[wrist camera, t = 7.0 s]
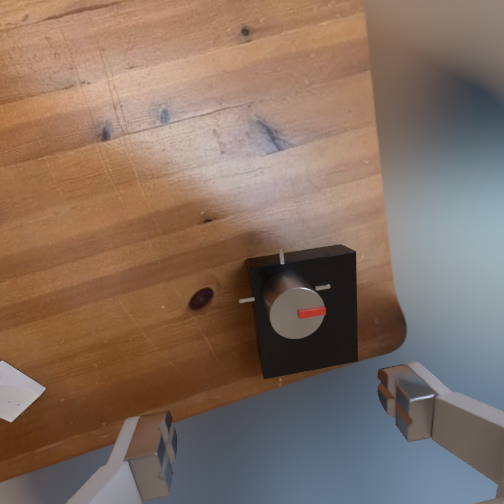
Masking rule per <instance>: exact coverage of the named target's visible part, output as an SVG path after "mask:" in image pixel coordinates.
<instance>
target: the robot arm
mask: <svg viewBox="0 0 504 504" xmlns="http://www.w3.org/2000/svg"><path fill="white" fill-rule="evenodd" d="M378 378H379V380H380V381H381V383H380V384H379V386H378V396H379V399H380V402H381V404H382V406H383V408H384V409H385V411H386V412H387V414H389V415H391V416H392V417H394V418H396V426H397V427H398V429H399V430H400V432H401V433H402V434H403V436H404V437H405V438H406V440H407V441H408V442H412V441H416V440H422V439H428V438H432V440H434V441H435V442H436V443H438V444H439V445H441V446H442V447H444V448H445V449H447V450H448V451H450V452H451V453H452V454H454V455H456V456H457V457H458V458H460V459H461V460H463V461H464V462H466V463H467V464H469V465H470V466H472V467H473V468H475V469H476V470H478V471H479V472H480V473H482V474H483V475H485V476H486V477H488V478H489V479H491V480H492V481H494V482H495V483H496V484H498V488H497V494H496V499H492V500H487V501H483V502H480V503H476V504H504V412H503V411H501V410H498V409H496V408H494V407H491V406H489V405H487V404H484V403H482V402H479V401H477V400H475V399H472V398H470V397H468V396H465V395H463V394H460V393H458V392H451V391H450V390H449V389H448V388H447V387H446V386H445V385H444V384H442V383H441V382H440V381H439V380H438V379H437V378H436V377H435V376H433V375H432V374H431V373H430V372H429V371H428V370H427V369H426V368H424V367H423V366H422V365H421V364H420V363H418V362H416V361H415V362H411V363H406V364H401V365H397V366H392V367H387V368H382V369H379V371H378ZM171 423H172V416H171V413H170V411H164V412H159V413H153V414H147V415H141V416H137V417H131V418H127V419H126V420H125V422H124V423H123V426H122V428H121V430H120V433H119V435H118V437H117V440H116V442H115V445H114V447H113V450H112V452H111V454H110V456H109V459H108V461H107V464H106V465H104V466H101V467H100V468H99V469H98V470H97V471H96V472H95V473H94V474H93V475H92V476H91V477H90V478H89V479H88V481H87V482H86V483H85V484H84V485H83V486H82V487H81V488H80V489H79V490H78V491H77V492H76V493H75V494H74V495H73V496H72V497H71V498H70V499H69V500H68V501H67V502H66V503H65V504H143V503H142V502H144V501H148V500H152V499H156V498H160V497H164V496H167V495H169V492H170V487H171V481H172V475H173V471H172V467H171V464H172V463H173V461H174V460H175V458H176V452H177V435H176V431H175V428H174V427H173V426H171Z"/></svg>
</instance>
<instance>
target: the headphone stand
mask: <svg viewBox="0 0 504 504" xmlns="http://www.w3.org/2000/svg"><path fill="white" fill-rule="evenodd" d="M45 389H46V388H45V387H43V386H42V385H40V384H38V383H37V382H35V381H34V380H32V379H31V378H29V377H28V376H26V375H25V374H23V373H21V372H20V371H18V370H17V369H15V368H14V367H12V366H11V365H9V364H7V363H6V362H4V361H3V360H2V361H1V362H0V418H2V419H5V420H7V421H9V422H12V421H13V420H14V419H15V418H16V417H18V416H19V415H20V414H21V413H22V412H23V411H24V410H25V409H26V408H27V407H28V406H29V405H30V404H31V403H33V402H34V401H35V400H36V399H37V398H38V397H39V396H40V395H41V394H42V393H43V392H44V391H45Z"/></svg>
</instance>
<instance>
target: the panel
mask: <svg viewBox="0 0 504 504" xmlns="http://www.w3.org/2000/svg"><path fill="white" fill-rule="evenodd" d="M246 262H247V269H248V276H249V284H250V291H251V297H249V298H243V299H239V302H240V303H244V302H250V301H252V306H253V313H254V321H255V328H256V336H257V343H258V350H259V358H260V363H261V368H262V372H263V377H264V379H268V378H273V377H278V376H284V375H289V374H294V373H299V372H304V371H310V370H315V369H320V368H325V367H331V366H336V365H341V364H346V363H351V362H357V361H358V339H357V284H356V251H354V250H352V249H350V248H348V247H346V246H343V245H334V246H328V247H321V248H315V249H308V250H302V251H295V252H288V253H283V249H279V254H275V255H269V256H262V257H255V258H249V259H246ZM283 271H291V272H295V273H297V274H299V275H301V276H302V277H303V278H304V279H305V280H306V282H307V283H308V284H309V285H310V286H311V287H312V288H313V289H314V290H315V291H316V293H317V294H318V295H319V296H320V297H321V299H322V301H323V303H324V307H325V308H326V315H324V318H323V321H322V323H321V324H320V326H319V327H318V329H317V330H316V331H314V332H313V333H312V334H310V335H308V336H306V337H304V338H300V339H289V338H285V337H283V336H281V335H279V334H278V333H277V332H276V331H275V330H274V329H273V327H272V325H271V322H270V320H269V317H268V314H267V311H266V309H265V306H264V303H263V300H262V290H263V287H264V285H265V283H266V282H267V280H268V279H269V278H270V277H271V276H273V275H274V274H276V273H279V272H283Z"/></svg>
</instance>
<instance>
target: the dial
mask: <svg viewBox="0 0 504 504" xmlns="http://www.w3.org/2000/svg"><path fill="white" fill-rule="evenodd" d="M262 300H263V303H264V306H265V309H266V311H267V314H268V317H269V320H270V322H271V325H272V327H273V329H274V330H275V331H276V332H277V333H278V334H279V335H281V336H283V337H285V338H289V339H300V338H304V337H306V336H308V335H310V334H312V333H313V332H314V331H316V330H317V329H318V327H319V326H320V324H321V323H322V321H323V318H324V315H326V308H325V307H324V303H323V301H322V299H321V297H320V296H319V295H318V294H317V293H316V291H315V290H314V289H313V288H312V287H311V286H310V285H309V284H308V283H307V282H306V280H305V279H304V278H303V277H302V276H301V275H299V274H297V273H295V272H291V271H283V272H279V273H276V274H274V275H273V276H271V277H270V278H269V279H268V280H267V282H266V283H265V285H264V287H263V290H262Z"/></svg>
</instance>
